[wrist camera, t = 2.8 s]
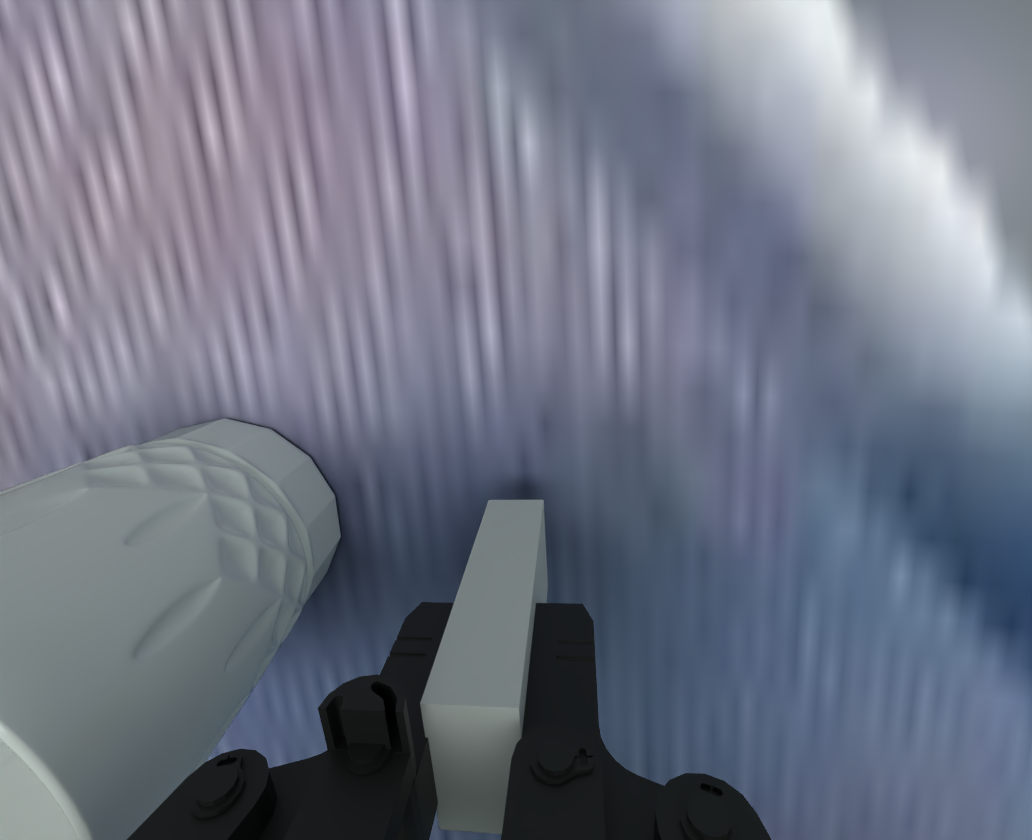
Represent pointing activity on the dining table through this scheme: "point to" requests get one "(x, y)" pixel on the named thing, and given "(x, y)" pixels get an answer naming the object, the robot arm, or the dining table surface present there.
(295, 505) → the white cup
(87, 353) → the dining table surface
